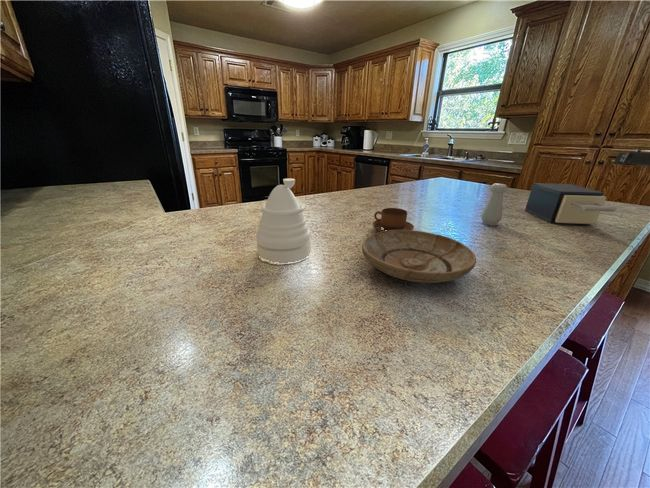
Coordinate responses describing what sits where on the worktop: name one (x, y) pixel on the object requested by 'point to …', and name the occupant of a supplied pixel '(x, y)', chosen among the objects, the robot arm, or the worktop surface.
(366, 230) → the worktop surface
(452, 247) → the ceramic bowl
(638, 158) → the robot arm
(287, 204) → the honey pot
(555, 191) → the cabinet
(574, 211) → the drawer
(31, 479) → the worktop surface
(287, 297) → the worktop surface
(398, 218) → the cup and saucer
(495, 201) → the salt shaker
